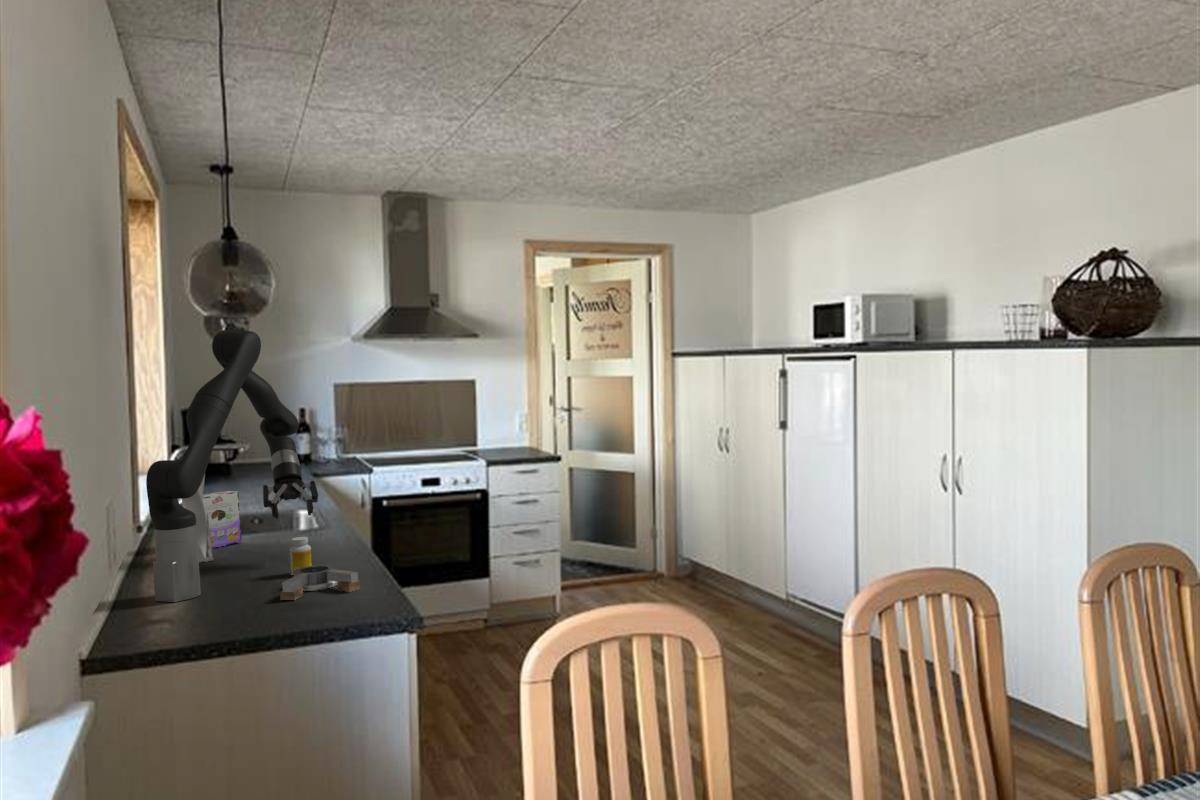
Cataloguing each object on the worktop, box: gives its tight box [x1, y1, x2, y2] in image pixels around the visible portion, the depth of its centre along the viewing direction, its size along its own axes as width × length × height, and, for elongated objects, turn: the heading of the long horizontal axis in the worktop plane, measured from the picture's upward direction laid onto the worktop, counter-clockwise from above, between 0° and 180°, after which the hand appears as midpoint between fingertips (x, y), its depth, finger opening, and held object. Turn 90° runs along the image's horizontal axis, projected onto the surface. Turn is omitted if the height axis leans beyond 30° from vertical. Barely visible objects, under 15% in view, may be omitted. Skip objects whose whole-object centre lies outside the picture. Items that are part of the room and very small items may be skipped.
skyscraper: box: [181, 473, 214, 564], centre depth 250 cm, size 8×8×28 cm
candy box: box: [203, 490, 243, 549], centre depth 271 cm, size 14×6×16 cm, turn 141°
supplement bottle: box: [289, 536, 313, 577], centre depth 231 cm, size 5×5×10 cm
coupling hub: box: [295, 564, 338, 593], centre depth 219 cm, size 12×12×4 cm
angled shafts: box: [281, 568, 359, 592], centre depth 210 cm, size 14×14×2 cm
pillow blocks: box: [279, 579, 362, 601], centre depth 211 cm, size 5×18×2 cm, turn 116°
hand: (293, 515), depth 240 cm, fingers open, 8 cm apart
